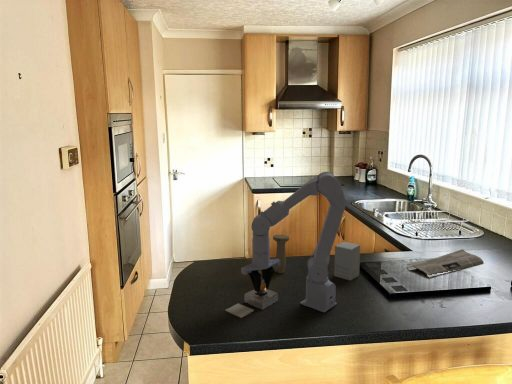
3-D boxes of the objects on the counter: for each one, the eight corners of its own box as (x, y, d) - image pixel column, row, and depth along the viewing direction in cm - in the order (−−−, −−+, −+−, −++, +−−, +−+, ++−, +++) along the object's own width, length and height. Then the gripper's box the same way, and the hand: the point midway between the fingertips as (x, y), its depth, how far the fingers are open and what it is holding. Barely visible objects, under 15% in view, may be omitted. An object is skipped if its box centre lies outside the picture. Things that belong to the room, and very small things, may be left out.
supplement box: (359, 275, 154) (361, 245, 152) (350, 281, 149) (351, 249, 147) (343, 270, 159) (344, 241, 157) (333, 276, 154) (334, 245, 152)
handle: (275, 268, 162) (275, 234, 159) (290, 271, 159) (290, 235, 156) (271, 272, 157) (271, 237, 155) (286, 275, 155) (286, 239, 152)
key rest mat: (253, 311, 126) (253, 309, 126) (241, 318, 122) (241, 316, 122) (238, 304, 131) (238, 303, 131) (225, 310, 126) (225, 309, 126)
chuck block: (277, 301, 133) (277, 292, 132) (262, 309, 127) (262, 301, 126) (259, 294, 138) (259, 286, 138) (244, 302, 132) (244, 293, 132)
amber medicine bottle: (265, 295, 134) (265, 276, 132) (266, 299, 131) (266, 279, 129) (257, 295, 133) (257, 276, 132) (257, 299, 131) (257, 280, 129)
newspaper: (428, 279, 151) (429, 271, 151) (403, 269, 162) (403, 260, 162) (485, 264, 167) (486, 256, 167) (458, 255, 178) (459, 248, 177)
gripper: (271, 244, 136) (271, 280, 139) (236, 252, 129) (236, 290, 131) (284, 249, 131) (283, 287, 133) (247, 258, 123) (248, 298, 125)
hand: (261, 289), depth 132 cm, fingers closed on amber medicine bottle, 3 cm apart
